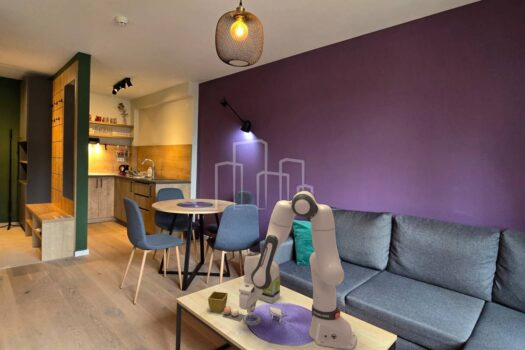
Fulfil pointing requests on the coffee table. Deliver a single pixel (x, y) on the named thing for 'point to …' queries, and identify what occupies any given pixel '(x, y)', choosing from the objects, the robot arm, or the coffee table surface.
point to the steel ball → (252, 308)
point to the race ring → (252, 321)
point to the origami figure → (276, 312)
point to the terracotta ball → (227, 310)
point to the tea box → (271, 291)
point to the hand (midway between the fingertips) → (251, 310)
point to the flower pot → (217, 301)
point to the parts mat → (234, 317)
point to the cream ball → (235, 312)
